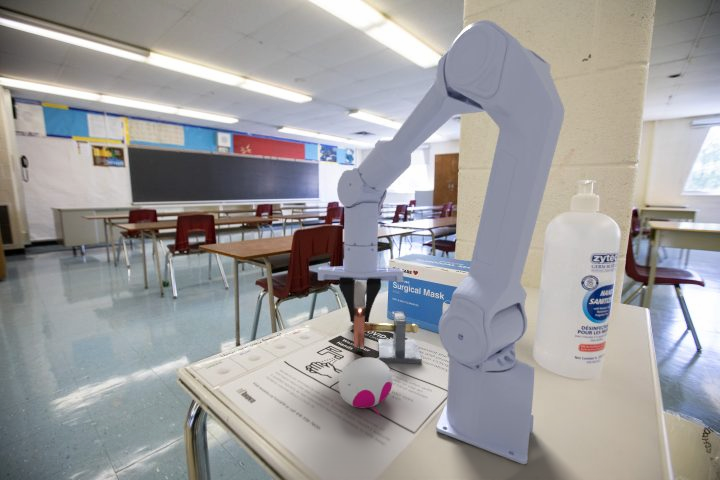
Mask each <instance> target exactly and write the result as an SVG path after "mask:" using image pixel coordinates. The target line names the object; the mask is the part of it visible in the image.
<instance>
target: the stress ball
mask: <svg viewBox="0 0 720 480" xmlns="http://www.w3.org/2000/svg"><path fill="white" fill-rule="evenodd" d="M393 380H394V379H393V373H392V369H390V367H389V366H388V365H387V364H386V362H382V361H381V360H379V358H375V357H372V356H371V357H370V356H368V357H367V356H366V357H360V358H358V359H354V360H352V361H351V362H350V363H348V364H347V365H346V366H345V367H344V369H343V370H342V371H341V373H340V375H339V378H338V391H339V394H340V396H341V397H342V399H343V400H344V401H345V402H346V403H347V404H349V405H350V406H352V407H355V408H360V409H361V408H362V409H363V408H364V409H367V408H372V409H373V410H374V411H375V413H376V414H377V415H378V416H379V417H380V418H382V416H381V415H380V414H379V412H378V411H377V409H376V408H375V406H376V405H378V404H380V403H382V402H383V401H384V400H385V399H386V398H388V395H390V392H391V390H392V388H393Z"/></svg>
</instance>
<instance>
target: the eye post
mask: <svg viewBox="0 0 720 480" xmlns="http://www.w3.org/2000/svg"><path fill="white" fill-rule="evenodd" d="M393 324H396V328H395V332H392V334H393V335H392V338H378V343H377V345H379V346H378V359H379V360H381V361H382V362H384V363H385V364H386V363H387V364H389V363H392V364H393V363H394V364H395V363H396V364H422V362H423V359H422V356H421V351H420V350H419V347H418V344H417V341H416V339H406V333H407V332H406V324H407V320H406V318H405V314H404V311H400V310H398V311H396V310H394V312H393Z"/></svg>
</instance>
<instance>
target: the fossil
mask: <svg viewBox="0 0 720 480" xmlns="http://www.w3.org/2000/svg"><path fill="white" fill-rule="evenodd" d="M366 283H367V282H365V281H363V280H355V288H354V303H355V307H364V308H365V306H366ZM351 323H352V324H353V325H354V322H351Z"/></svg>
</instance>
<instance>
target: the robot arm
mask: <svg viewBox="0 0 720 480" xmlns="http://www.w3.org/2000/svg"><path fill="white" fill-rule="evenodd" d="M482 112H485V113H486V114H487V115H488V116H489V117H490V118H491V120H493V122H494V123H495V124H496V125H497V127H498V129H499V132H498V136H497V141H496V146H495V150H494V154H493V159H492V164H491V168H490V172H489V177H488V182H487V187H486V191H485V196H484V201H483V205H482V210H481V214H480V220H479V223H478V229H477V233H476V238H475V243H474V246H473V250H472V251H473V252H472V254H471V255H472V256H471V261H470V264H469V265H470V266H469V269H468V273H467V275H466V276H465V277H464V279H463V280H462V281H461V282H460V283H459V284H458V286H457V287H456V288H455V290H453V293H452V295H451V301H450V303H449V306H448V307H447V309H446V310H445V311H444V312H443V313H442V314H441V316H440V319H439V321H438V328H437V329H438V336H439V340H440V342H441V345H442V347H443V349H445V350H444V351H446V352H447V358H448V359H449V361H448V374H447V375H448V376H447V377H448V379H447V393H446V403H445V405H444V407H443V410H442V412H441V413H440V416H439V419H438V420H437V423H436V426H435V429H436V431H437V432H438V433H441V434H444V435H446V436H449V437H451V438H454V439H457V440H459V441H462V442H464V443H467V444H469V445H472V446H475V447H477V448H479V449H482V450H486V451H487V452H490V453H493V454H495V455H497V456H501V457H502V458H503V457H504V458H506V459H508V460H511V461H512V462H513V461H514V462H517V463H519V464H523V465H525V464H526V465H527V463H528V453H529V441H530V433H531V434H533V431H534V419H535V418H534V415H533V414H532V412H533V411H532V409H533V399H534V387H535V386H534V385H535V366H533V365H531V364H528V363H525V362H522V361H521V360H518V359H517V357H516V349H515V347H516V342H518V341H520V340H521V339H522V338H523V337H524V336H525V334H526V331H527V328H528V319H527V318H528V317H527V315H526V309H525V305H526V299H527V291H526V290H525V288H524V287H523V285H522V283H521V281H522V277H523V273H524V270H525V266H526V262H527V257H528V254H529V250H530V247H531V243H532V240H533V236H534V232H535V228H536V224H537V221H538V217H539V212H540V208H541V205H542V201H543V198H544V193H545V191H546V190H545V189H546V186H547V182H548V178H549V175H550V171H551V167H552V164H553V161H554V156H555V153H556V149H557V145H558V141H559V136H560V134H561V130H562V127H563V122H564V118H565V107H564V104H563V101H562V99H561V96H560V94H559V92H558V89H557V86H556V84H555V81H554V79H553V76H552V73H551V64H550V63H549V62H547V61H546V59H544V58H542V57H541V56H540V55H539V54H537V53H536V52H534V51H533V50H530V49H529V48H526V47H525V46H523V44H521V42H520V41H519V40H518V39H517V38H516V37H514V36H513V35H511V34H510V33H509V32H508V31H507V30H505V29H504V28H502V27H501V25H499V24H497V23H496V22H494V21H492V20H488V19H486V20H485V19H482V20H477V21H475V22H473V23H471V24H469V25H468V26H466V27H465V28H463V30H462V31H461V32H460V33H459V34H458V35H457V36H456V37H455V39H454V40H453V42H452V43H451V45H450V47H449V50H447V51H446V52H445V53H444V54H442V56H441V57H440V58H439V60H438V61H437V68H436V74H435V79H434V81H433V82H432V84H431V85H430V86H429V88H428V89H427V90H426V92H425V93H424V95H423V96H422V97H421V99H420V101H419V102H418V103H417V104H416V106H415V107H414V108H413V110H412V111H411V112H410V114H409V115H408V117H407V118H406V119H405V121H404V122H403V123H402V125H401V126H400V128H398V130H397V132H395V135H394V136H392V137H390V136H389V137H388V136H387V137H386V136H385V137H382V138H381V139H378V140H377V141H376V143H375V144H374V147H373V148H372V149H371V151H370V152H369V153H368V154H367V156H366V157H365V158H364V159H363V161H362V162H361V163H360V164H359V165H358V167H353V169H346V170H344V171H343V172H342V174H341V176H340V178H339V179H338V182H337V189H336V190H337V197H338V200H339V202H340V204H341V205H342V206H344V207H343V208H344V211H343V212H344V213H343V214H344V218H343V219H344V223H343V224H344V225H343V228H344V229H343V234H344V235H343V236H344V237H343V239H344V240H343V241H344V242H343V243H344V244H343V265H340V266H339V265H338V266H319V267H318V269H317V280H318V281H325V280H331V281H332V280H336V281H338V280H339V284H338V287H339V290H340V292H341V294H342V296H343V298H344V300H345V303H346V306H347V310H348V313H349V314H348V315H349V319H350V322H351V323H352V322H354V312H355V303H354V288H355V282H356V281H366V282H365V283H366V294H365V323H370V321H369V320H370V315H371V311H372V308H373V305H374V302H375V301H376V298H377V296H378V294H379V292H380V291H381V289H382V283H381V282H382V281H383V282H384V281H385V282H386V281H389V282H390V281H391V282H396V283H403V281H404V270H403V268H394V267H385V266H383V267H381V266H378V237H379V217H380V216H381V214H382V205H383V203H384V201H385V199H386V197H387V192H388V190H387V189H389V187H391V186H392V185H393V183H394V182H395V181H396V180H398V178H400V176H401V175H402V174H404V173H405V172H406V170H407V169H409V168H410V167H411V164H412V154H413V153H414V151H416V150H417V149H418V148H419V147H420V146H421V145H422V144H423V143H425V142H426V141H427V140H428V139H429V138H430V137H431V136H432V135H433V134H435V133H436V132H437V131H438V130H439V129H440V128H441V127H443V125H445V124H446V123H447V122H448V121H449V120H450V119H451V118H453V117H454V116H457V115H466V114H474V113H482Z"/></svg>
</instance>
